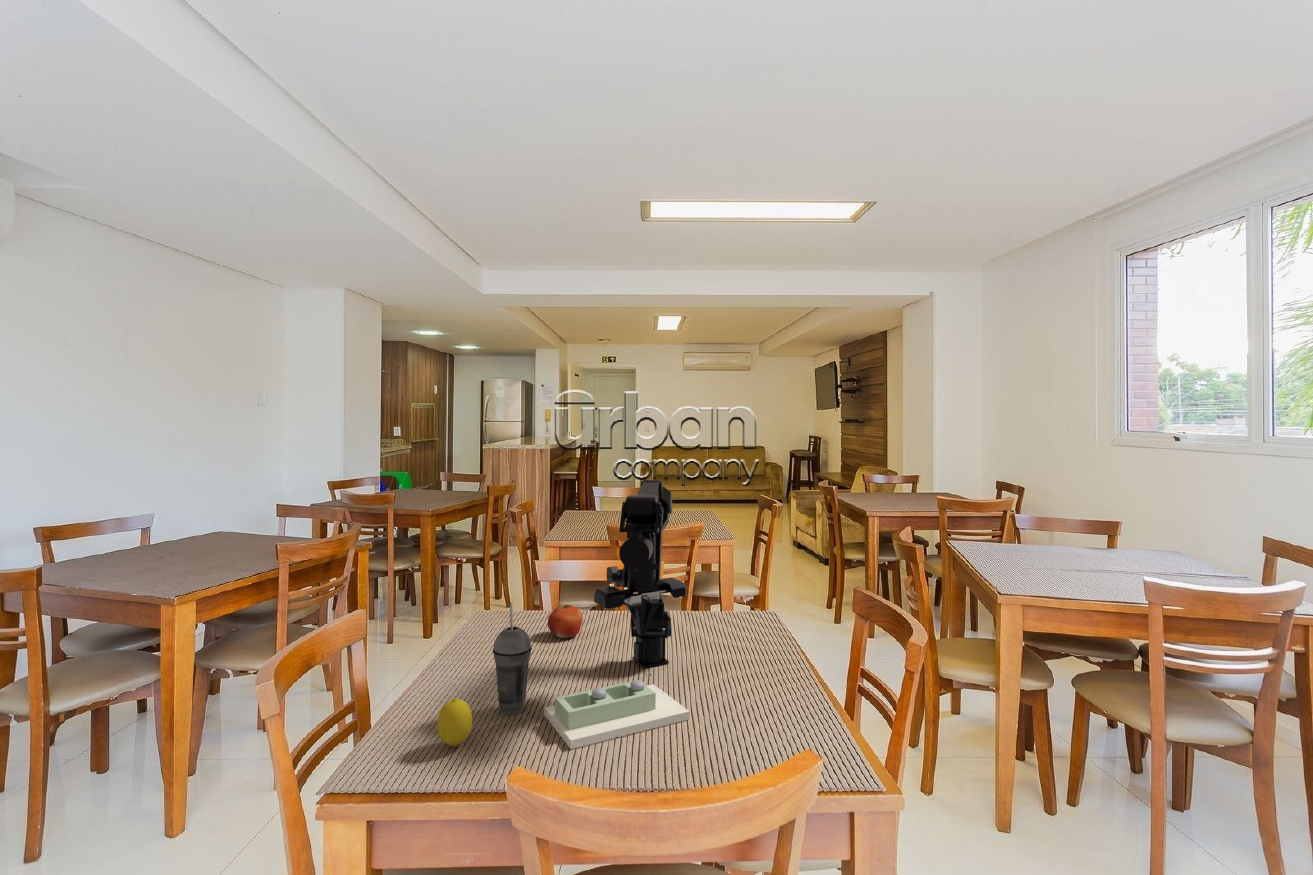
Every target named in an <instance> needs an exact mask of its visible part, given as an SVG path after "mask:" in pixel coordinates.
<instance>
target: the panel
mask: <svg viewBox="0 0 1313 875" xmlns="http://www.w3.org/2000/svg"><path fill="white" fill-rule="evenodd" d="M632 681H633V680H630V681H627V682H622V683H617V684H611V685H608V686H602V687H601V688H602V689H605V690H606V697H604V698H603V699H599V700H595V698H593V697H592V690H594V689H595V688H593V689H588V690H584V691H579V692H573V693H569V694H566V695H564V694H563V695H560V696H559V695H558V696H555V697H554V705H555V715H556V716H557V717H558V718H559V719H560V721H561V722H562V723H563V724H564V725H565V726H566V728H567V729H568V730H572V729H576V728H580V727H584V726H588V725H592V724H597V723H601V722H605V721H609V720H613V719H617V718H622V717H626V716H630V715H634V714H638V713H642V712H647V711H651V710H655V709H656V693H655V692H654V691H652V690H651V689H650V688H648V687H647V685H646V684H644V689H642V690H640V691H635V692H633V690H632V689H631V688H630V683H631V682H632ZM634 681H640V680H639V679H635V680H634Z"/></svg>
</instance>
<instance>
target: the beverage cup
mask: <svg viewBox="0 0 1313 875" xmlns="http://www.w3.org/2000/svg"><path fill="white" fill-rule="evenodd" d="M513 606H514V604H513V602H509V627H506V628H504V629H502V630H501V631H500V632H499V633H498V635H497V636H496V638H495V640H494V641H493V642H494V644H493V648H492V653H493V659H494V663H495V673H496V674H495V675H496V686H497V698H498V708H499V713H500V714H501V715H503V716H515V715H514V714H517V715H519V714H522V713H524V711H523V710H525V704H526V697H527V685H528V675H529V674H528V673H529V664H530V663H529V662H530V659H531V655H532V650H533V648H532V642H531V639H530V637H529V634H528V633H527V632H526V631H525V630H524V629H522V628H521V627H520V626H519V627H518V626H514V618H513V617H514V614H513V612H514V611H513Z"/></svg>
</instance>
